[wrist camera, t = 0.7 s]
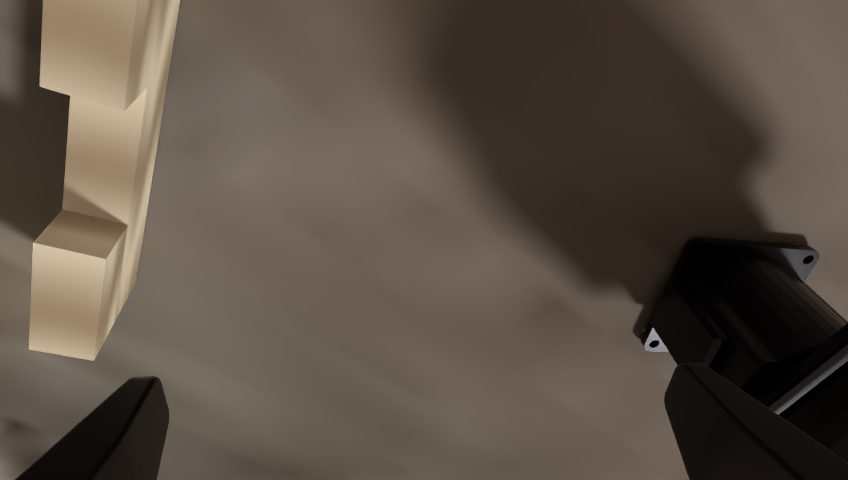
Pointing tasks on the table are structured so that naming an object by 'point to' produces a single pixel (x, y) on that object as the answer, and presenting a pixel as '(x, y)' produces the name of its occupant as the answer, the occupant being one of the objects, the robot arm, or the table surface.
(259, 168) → the table surface
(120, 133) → the birch rail
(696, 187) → the table surface
